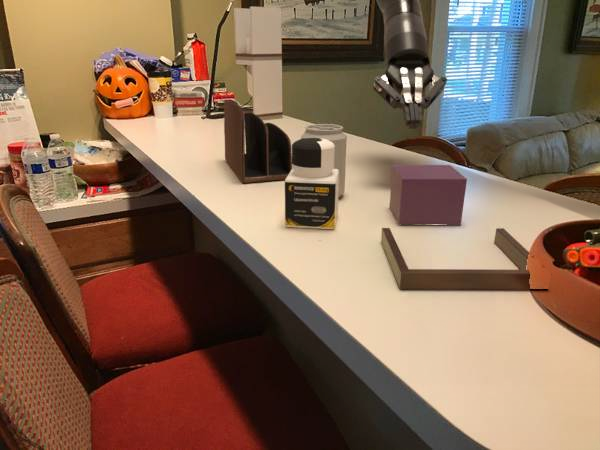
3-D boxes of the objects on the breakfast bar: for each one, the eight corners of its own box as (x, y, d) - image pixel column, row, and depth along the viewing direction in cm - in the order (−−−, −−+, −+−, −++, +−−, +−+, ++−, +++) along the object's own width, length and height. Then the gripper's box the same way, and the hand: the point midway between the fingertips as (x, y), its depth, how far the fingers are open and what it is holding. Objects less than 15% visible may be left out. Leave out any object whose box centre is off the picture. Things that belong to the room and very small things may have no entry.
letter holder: (242, 184, 88) (238, 107, 83) (224, 160, 105) (221, 95, 100) (293, 179, 90) (292, 105, 85) (268, 157, 108) (266, 94, 103)
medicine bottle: (284, 227, 67) (283, 144, 63) (292, 211, 74) (292, 134, 69) (334, 230, 66) (337, 145, 62) (337, 213, 73) (340, 135, 69)
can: (345, 202, 78) (348, 129, 73) (300, 202, 78) (300, 129, 73) (343, 189, 85) (345, 122, 80) (301, 189, 85) (301, 122, 80)
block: (445, 207, 76) (450, 164, 73) (460, 225, 68) (467, 178, 66) (389, 207, 76) (392, 164, 73) (398, 225, 68) (402, 178, 66)
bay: (501, 242, 62) (503, 228, 62) (548, 290, 50) (552, 273, 50) (381, 241, 63) (381, 227, 62) (399, 289, 50) (401, 273, 50)
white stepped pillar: (265, 114, 172) (262, 9, 159) (282, 117, 164) (281, 8, 152) (238, 117, 166) (233, 8, 153) (255, 121, 158) (251, 6, 145)
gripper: (371, 29, 81) (377, 111, 74) (448, 30, 81) (461, 112, 74) (366, 61, 88) (371, 138, 81) (436, 61, 88) (447, 139, 81)
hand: (414, 125), depth 78 cm, fingers closed
